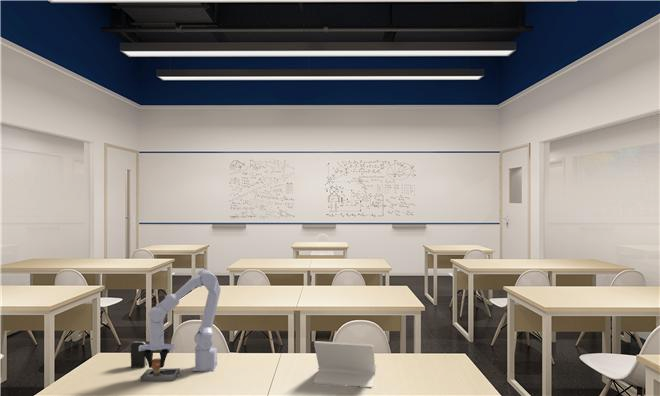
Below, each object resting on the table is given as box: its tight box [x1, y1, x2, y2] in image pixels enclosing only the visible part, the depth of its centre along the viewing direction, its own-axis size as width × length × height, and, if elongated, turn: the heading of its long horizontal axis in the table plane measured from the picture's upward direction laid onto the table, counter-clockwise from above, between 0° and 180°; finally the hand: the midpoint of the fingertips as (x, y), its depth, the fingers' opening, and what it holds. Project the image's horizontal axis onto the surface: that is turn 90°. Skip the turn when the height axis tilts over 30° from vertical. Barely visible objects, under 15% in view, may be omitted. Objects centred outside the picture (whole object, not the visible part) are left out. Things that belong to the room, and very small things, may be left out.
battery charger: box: [130, 340, 148, 368], centre depth 192 cm, size 7×4×11 cm, turn 85°
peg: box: [150, 357, 162, 374], centre depth 179 cm, size 4×4×6 cm
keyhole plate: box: [139, 367, 181, 383], centre depth 179 cm, size 14×8×2 cm, turn 93°
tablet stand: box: [312, 340, 377, 388], centre depth 179 cm, size 18×25×17 cm
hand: (156, 366), depth 179 cm, fingers closed on peg, 4 cm apart
